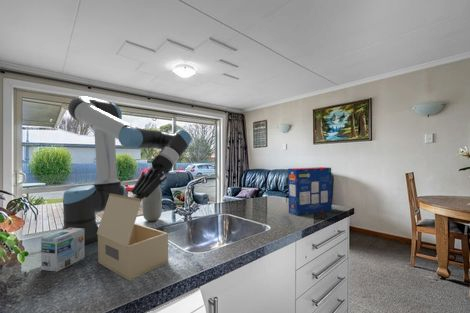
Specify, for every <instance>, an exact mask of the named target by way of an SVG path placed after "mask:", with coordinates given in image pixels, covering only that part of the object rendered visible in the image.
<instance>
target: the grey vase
mask: <svg viewBox="0 0 470 313" xmlns="http://www.w3.org/2000/svg"><path fill="white" fill-rule="evenodd" d="M162 200H163V192H162V188H161V184H160V185H159V186H158V187H157V188H156V189H155V190H154V191H153V192H152V193H151V194H150V195H149V196H148V197H147V198H146V197H144V198H143V199H142V200H141V203H142V216H143V219H144V220H145V221H148V222H156V221H158V220H160V218H161V216H162V211H163V208H162V207H163V205H162V204H163V201H162Z"/></svg>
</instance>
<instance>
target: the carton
mask: <svg viewBox="0 0 470 313" xmlns="http://www.w3.org/2000/svg"><path fill="white" fill-rule="evenodd" d="M97 262H98V264H100V265H102V266H103V267H105V268H106V269H109V270H111V271H112V272H114V273H115V274H117V275H118V276H121V278H124V279H126V280H127V281H132V280H134V279H135V278H138V277H140V276H142V275H144V274H147V273H148V272H151V271H152V270H154V269H156V268H159V267H161V266H163V265H165V264H167V263H169V233H168V232H166V231H162V230H159V229H155V228H152V227H149V226H146V225H142V224H139V223H135V224H134V227H133V231H132V234H131V237H130V241H129V244H128V246H124V245H122V244H119V243H117V242H115V241H112V240H110V239H108V238H105V237H103V236H101V235H98V240H97Z"/></svg>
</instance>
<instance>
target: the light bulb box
mask: <svg viewBox="0 0 470 313" xmlns="http://www.w3.org/2000/svg"><path fill="white" fill-rule="evenodd" d="M40 239H41V240H40V244H41V246H40V248H41V250H40V252H41V253H40V254H41V255H40V256H41V271H48V272H56V273H57V272H60V271H62V270H63V269H66V268H68V267H69V266H71V265H73V264H75V263H77V262H79V261H82V260H84V259H85V251H86V250H85V246H86V244H85V242H84V229H81V228H67V229H65V230H62V229H61V230H58V231H56V232H54V233H51V234H48V235H44V236H42V237H40Z"/></svg>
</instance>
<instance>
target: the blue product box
mask: <svg viewBox="0 0 470 313" xmlns="http://www.w3.org/2000/svg"><path fill="white" fill-rule="evenodd" d="M287 178H288V180H287V187H288V192H287V193H288V213H289V214H291V215H294V216H296V217H297V216H298V217H299V216H307V215H312V214H318V213H326V212H332V211H333V210H332V208H333V206H332V205H333V204H332V203H333V202H332V167H327V166H326V167H325V166H324V167H323V166H322V167H321V166H320V167H319V166H317V167H315V166H314V167H295V168H294V167H293V168H288V169H287Z"/></svg>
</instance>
